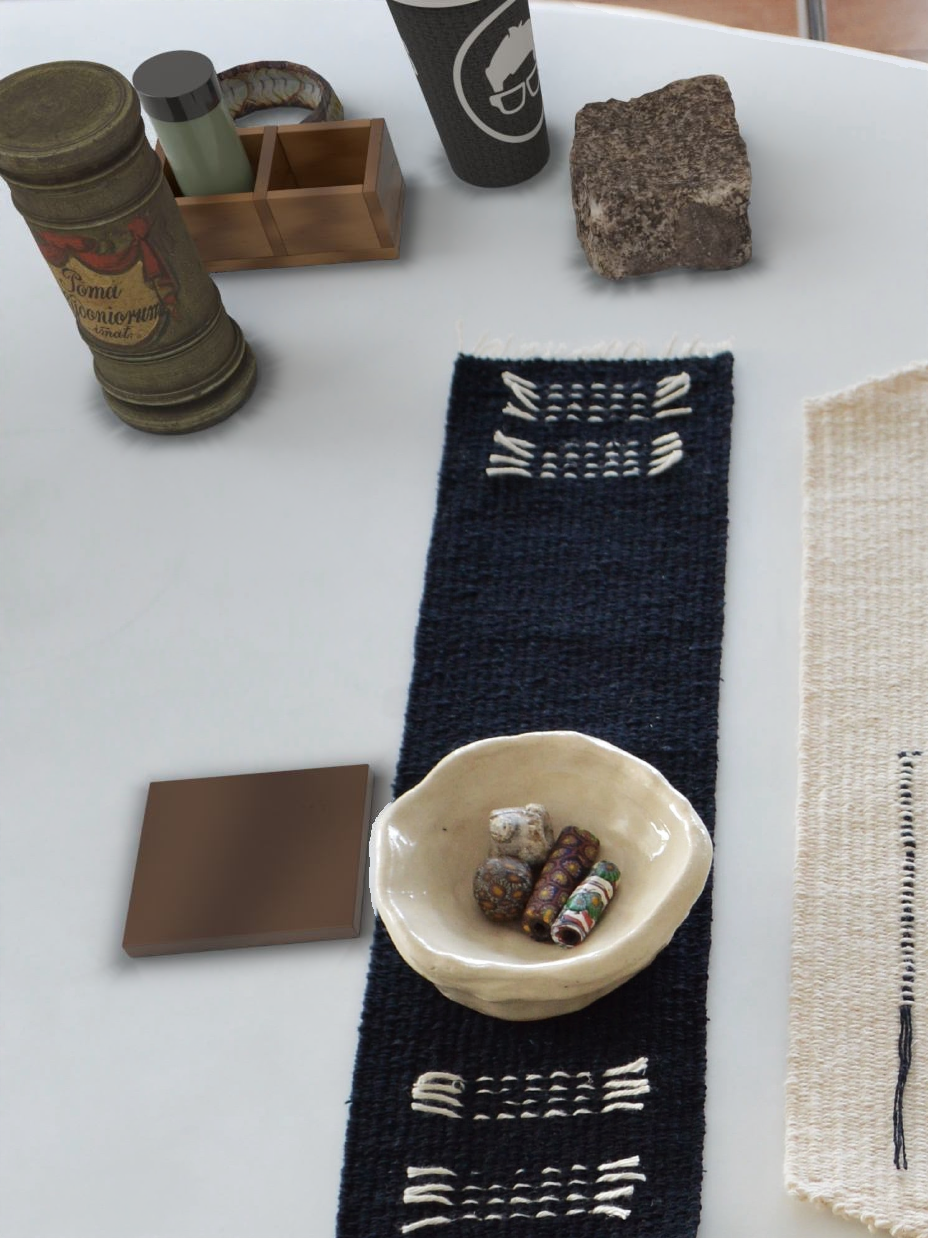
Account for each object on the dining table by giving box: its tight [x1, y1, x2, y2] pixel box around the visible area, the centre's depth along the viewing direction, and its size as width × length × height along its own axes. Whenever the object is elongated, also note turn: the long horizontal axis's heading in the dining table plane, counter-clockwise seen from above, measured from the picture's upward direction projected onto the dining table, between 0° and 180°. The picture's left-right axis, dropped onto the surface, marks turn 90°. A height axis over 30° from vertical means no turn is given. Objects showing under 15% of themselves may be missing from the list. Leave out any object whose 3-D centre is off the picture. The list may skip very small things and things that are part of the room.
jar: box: [131, 49, 256, 197], centre depth 113 cm, size 5×5×10 cm
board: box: [121, 763, 375, 958], centre depth 92 cm, size 11×10×1 cm
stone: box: [568, 73, 753, 281], centre depth 116 cm, size 11×13×6 cm
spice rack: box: [154, 117, 407, 274], centre depth 116 cm, size 14×7×5 cm, turn 96°
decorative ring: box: [217, 60, 345, 124], centre depth 121 cm, size 10×3×10 cm
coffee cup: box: [385, 0, 551, 188], centre depth 115 cm, size 10×10×15 cm
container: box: [0, 59, 258, 436], centre depth 103 cm, size 9×9×18 cm
